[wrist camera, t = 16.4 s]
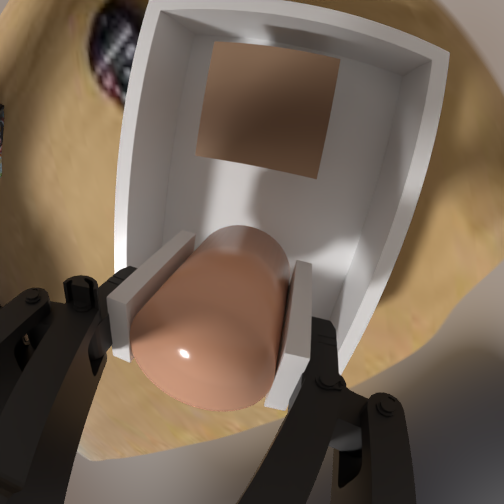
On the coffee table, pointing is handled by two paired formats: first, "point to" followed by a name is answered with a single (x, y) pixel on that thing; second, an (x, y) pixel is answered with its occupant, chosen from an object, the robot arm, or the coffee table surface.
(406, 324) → the coffee table surface
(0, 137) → the dark brown branched piece
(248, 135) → the walnut cube
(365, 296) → the tote
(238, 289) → the round-ended peach cylinder
